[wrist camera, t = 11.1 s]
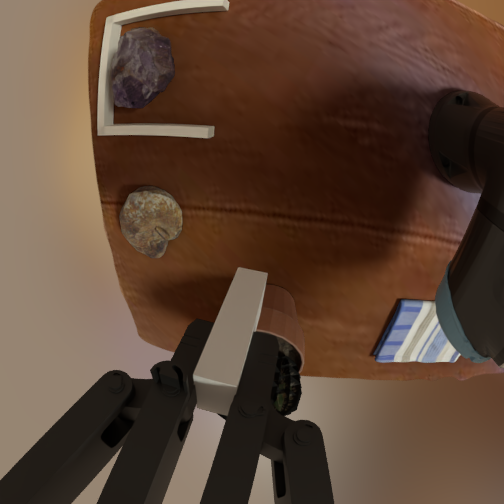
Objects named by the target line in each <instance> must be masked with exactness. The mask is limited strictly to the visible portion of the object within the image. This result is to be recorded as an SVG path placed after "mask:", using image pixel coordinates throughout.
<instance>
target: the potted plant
mask: <svg viewBox="0 0 504 504" xmlns="http://www.w3.org/2000/svg"><path fill="white" fill-rule="evenodd" d="M256 332H259V333H264V334H269V335H274V336H276V337H277V340H278V343H279V352H278V357H277V363H276V369H275V375H274V380H273V385H272V391H271V403H272V405H273V407H274V409H275V410H276V411H277V412H278V413H280V414H281V415H283V416H286V415H289V414H291V412H293V411H295V410H297V406H298V403H299V400H300V397H301V394H302V392H301V384H300V374H299V373H300V372H301V371H302V368H303V365H304V355H305V339H304V334H303V330H302V329H301V327H300V326H299V324H298V319H297V313H296V308H295V303H294V299H293V297H292V296H291V294H290V293H289V292H287V291H286V290H285V289H283V288H281V287H279V286H275V285H266V286H265V291H264V297H263V302H262V308H261V313H260V317H259V321H258V325H257V329H256ZM217 414H218V413H217ZM218 415H219V416H221V417H222V418H223V419H225V420H226V419H227V416H225V415H221V414H218Z"/></svg>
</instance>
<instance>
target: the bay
mask: <svg viewBox="0 0 504 504" xmlns="http://www.w3.org/2000/svg"><path fill="white" fill-rule="evenodd" d="M228 8H229V2H228V0H183V1H176V2H169V3H163V4H158V5H153V6H148V7H143V8H139V9H135V10H131V11H127V12H123V13H120V14H116V15H113V16H109V17H107V19H106V24H105V31H104V37H103V44H102V52H101V61H100V72H99V87H98V118H97V127H98V136H99V135H159V136H180V137H195V138H210V137H213V136H214V127H215V126H206V125H190V124H158V123H139V124H113V117H114V99H113V90H112V86H113V84H112V78H111V72H112V68H111V65H112V62H113V59H114V54H115V53H116V52H117V50H118V42H119V39H120V32H121V26H122V25H124V24H128V23H132V22H137V21H142V20H147V19H152V18H158V17H164V16H170V15H178V14H186V13H197V12H211V11H228Z"/></svg>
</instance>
